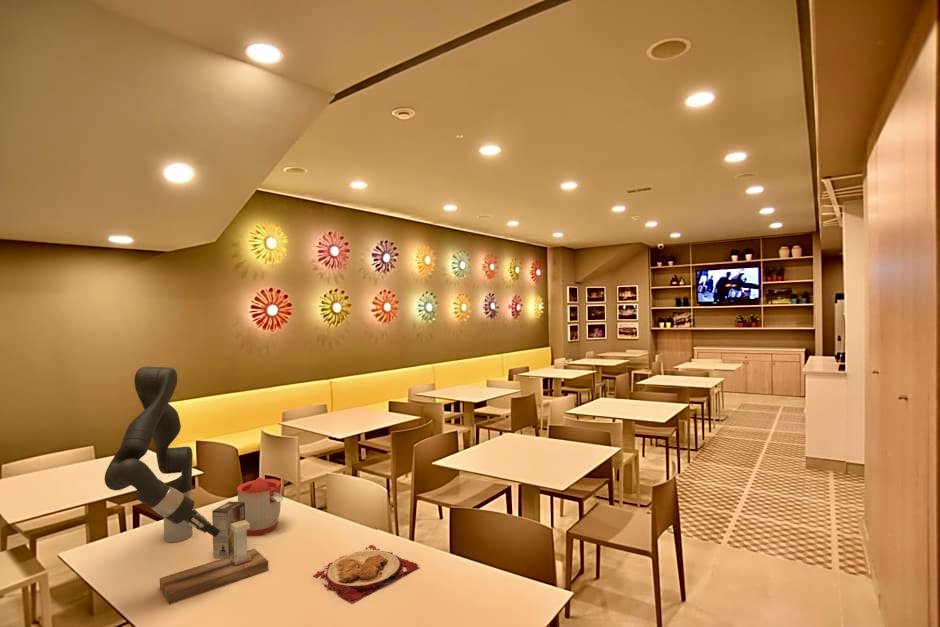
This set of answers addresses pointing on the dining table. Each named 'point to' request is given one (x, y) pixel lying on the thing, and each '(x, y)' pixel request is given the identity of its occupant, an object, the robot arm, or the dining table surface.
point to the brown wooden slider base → (210, 576)
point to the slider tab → (240, 542)
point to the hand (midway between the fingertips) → (217, 533)
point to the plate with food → (363, 572)
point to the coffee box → (226, 527)
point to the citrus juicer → (261, 504)
